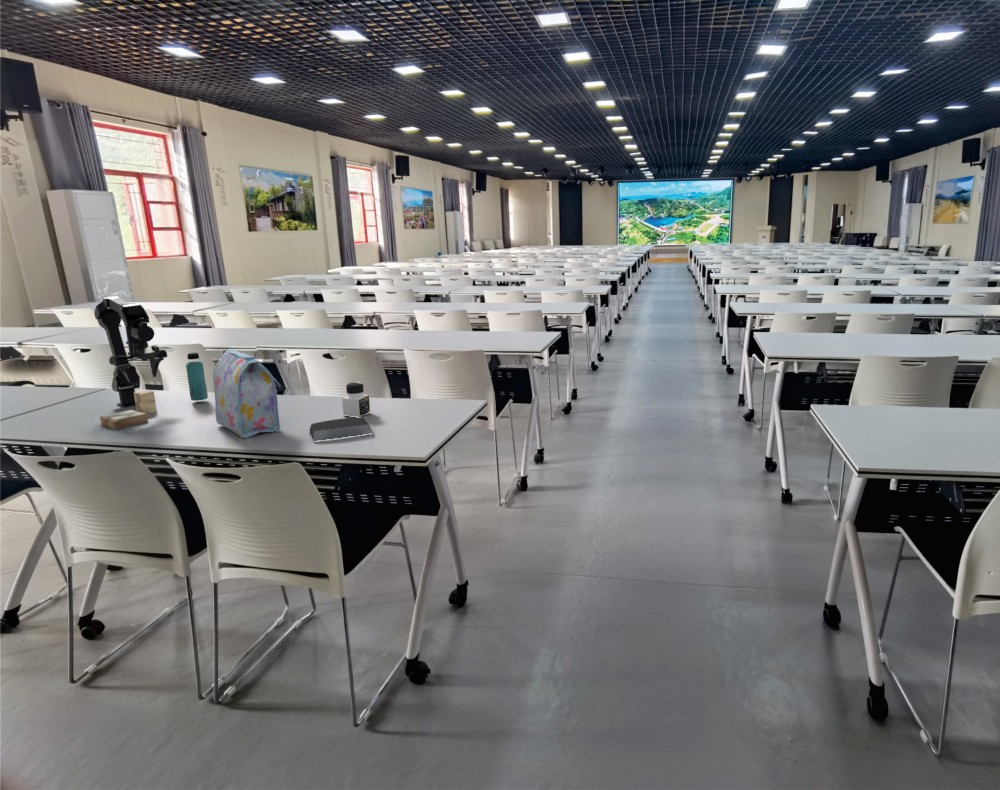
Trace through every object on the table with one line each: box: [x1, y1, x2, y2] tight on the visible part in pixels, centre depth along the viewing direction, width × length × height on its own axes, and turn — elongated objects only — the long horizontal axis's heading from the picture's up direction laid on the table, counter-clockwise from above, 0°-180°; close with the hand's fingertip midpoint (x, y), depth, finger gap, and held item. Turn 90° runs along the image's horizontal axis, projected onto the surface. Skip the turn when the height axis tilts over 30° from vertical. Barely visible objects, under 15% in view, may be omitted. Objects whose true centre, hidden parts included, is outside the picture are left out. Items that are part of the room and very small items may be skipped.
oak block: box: [134, 389, 158, 415], centre depth 247 cm, size 5×5×8 cm
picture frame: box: [99, 409, 149, 430], centre depth 233 cm, size 11×11×3 cm
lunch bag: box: [212, 348, 282, 439], centre depth 222 cm, size 22×17×26 cm
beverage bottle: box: [185, 352, 209, 402], centre depth 258 cm, size 6×7×20 cm
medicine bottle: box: [341, 381, 371, 418], centre depth 237 cm, size 7×7×12 cm
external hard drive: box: [309, 416, 374, 442], centre depth 217 cm, size 13×19×4 cm
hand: (142, 379), depth 244 cm, fingers open, 9 cm apart
